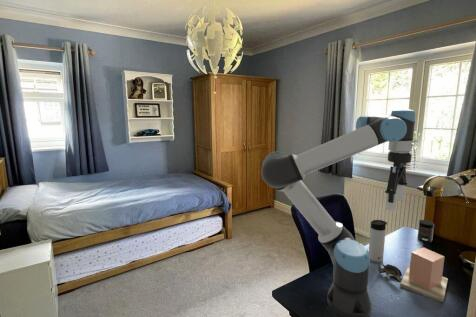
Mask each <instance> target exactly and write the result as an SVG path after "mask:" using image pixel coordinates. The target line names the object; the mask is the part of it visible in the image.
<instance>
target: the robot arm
mask: <svg viewBox="0 0 476 317" xmlns="http://www.w3.org/2000/svg"><path fill="white" fill-rule="evenodd" d="M415 125H416V111H415V110H413V109H393V110H391V113H390V114H389V115H361V116H359V117H357V119H356V123H355V130H352V131H350V132H347V133H345V134H343V135H340V136H338V137H336V138H334V139H331V140H329V141H327V142H324V143H322V144H319V145H317V146H315V147H312V148H310V149H308V150H306V151H303V152H301V153H299V154H293V153H292V154H289V155H288V154H285V153H284V152H282V151H273V152H270V153H268V154H267V155H266V156H265V157H264V158H263V161H262V164H261V171H260V172H261V177H262V178H261V179H262V180H263V181H264V183H265V184H266V185H267V186H269V187H271V188H274V189H276V191H278V192H283V193H284V195H285V196H286V197H287V198H288V200H289V201H291V203H292V204H293V205H294V207H295V208H296V209H297V211H299V213H300V214H301V215H302V216H303V217H304V218H305V220H306V221H307V222H308V223H309V225H310V227H312V229H313V230H314V231H315V233H317V234H318V236H317V239H318V240H317V241H319V243H320V244H321V245H322V246H323V247H324V249H325V250H326V251H327V252H328V254H329V257H330V260H331V262H332V265H333V273H332V275H333V276H332V284H331V286H330V287H329V290H328V292H327V294H326V295H327V298H326V300H327V301H326V302H327V305H328V306H329V308H330V310H331V311H332V312H334V313H335V314H337V315H338V316H340V317H369V316H370V315H371V314H372V301H371V299H370V294H369V291H368V285H369V284H368V282H369V271H370V270H369V269H370V264H371V261H370V258H369V249H367V246H365V245H364V244H362V243H359V241H357V240H355V238H354V236H353V235H352V233H351V232H350V231H349V230H348V229H347V228H346V227H345V226H344V225H343V223H341V222H340V221H335V220H334V219H333V217H332V216H331V215H330V214H329V213H328V211H327V210H326V209H325V207H324V206H323V205H322V203H320V201H319V200H318V199H317V198H316V197H315V195H314V194H313V193H312V192H311V191H310V189H309V188H308V187H307V185H306V184H305V183H304V182H303V181H302V180H304V179H305V177H306V176H307V175H310V174H311V173H314V172H316V171H319V170H322V169H324V168H326V167H328V166H331V165H333V164H336V163H339V162H340V161H343V160H345V159H348V158H351V157H353V156H355V155H357V154H360V153H362V152H365V151H367V150H369V149H373V148H374V147H376V146H377V147H378V146H379V145H382V144H384V143H386V142H388V154H387V161H388V162H390V163H393V165H391V166H390V169H389V176H388V181H387V186H386V190H385V191H384V193H385V194H386V195H387V196H386V209H385V210H387V211H390V212H395V211H396V202H397V201H399V202H404V195H405V186H407V185H408V182H407V164H409V163H411V162H412V153H411V152H412V151H413V147H414V146H415V143H414V142H413V140H414V132H415Z"/></svg>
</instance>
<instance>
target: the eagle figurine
mask: <svg viewBox="0 0 476 317" xmlns="http://www.w3.org/2000/svg"><path fill="white" fill-rule="evenodd" d="M380 264H381V265H378V268H377V271H378V274H379V275H381V274H383V273H384V274H385V276H386V277H387V280H388V281H389V280H390V277H391V276H390V275H392V276H393V277H394V278H396V279H397V280H398V282H401V281H402V279H403V277H402V276H403V273H402V271H401V269H399V267H397V266H395V265H392V264H389V263H388V264H387V263H386V264H385V265H384V263H383V262H381V263H380Z"/></svg>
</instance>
